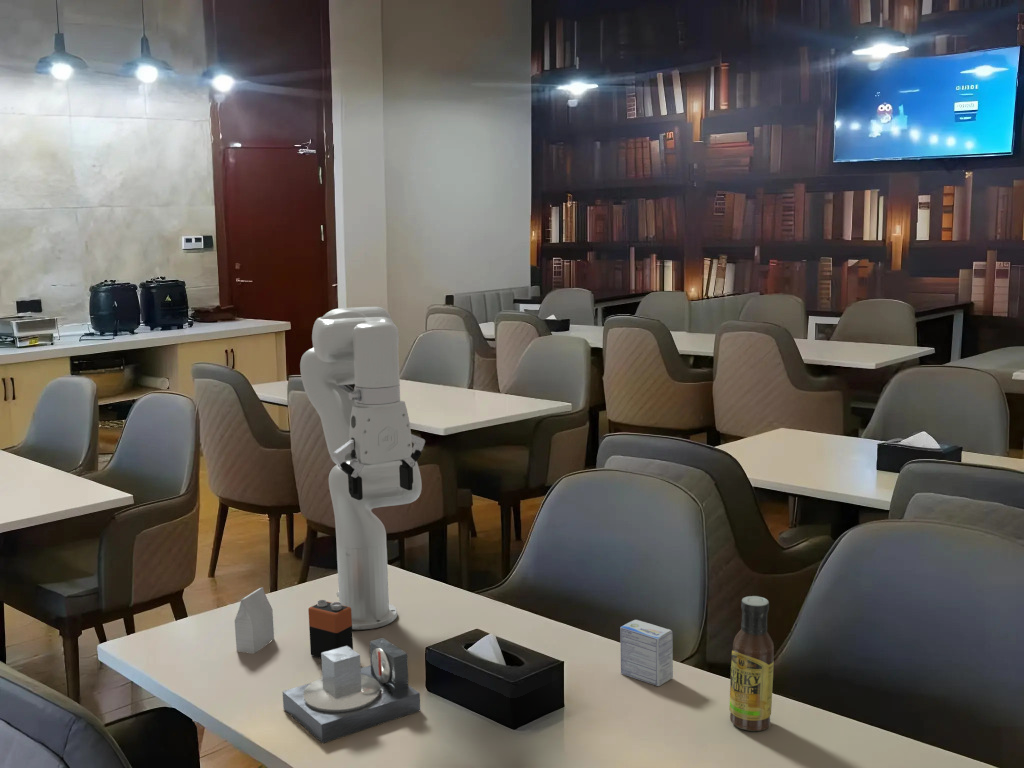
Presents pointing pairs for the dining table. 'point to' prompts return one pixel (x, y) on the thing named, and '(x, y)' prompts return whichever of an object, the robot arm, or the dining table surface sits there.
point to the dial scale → (357, 697)
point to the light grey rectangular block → (341, 672)
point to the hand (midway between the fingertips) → (381, 493)
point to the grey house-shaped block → (254, 622)
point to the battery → (329, 627)
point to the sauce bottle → (752, 668)
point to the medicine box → (646, 652)
